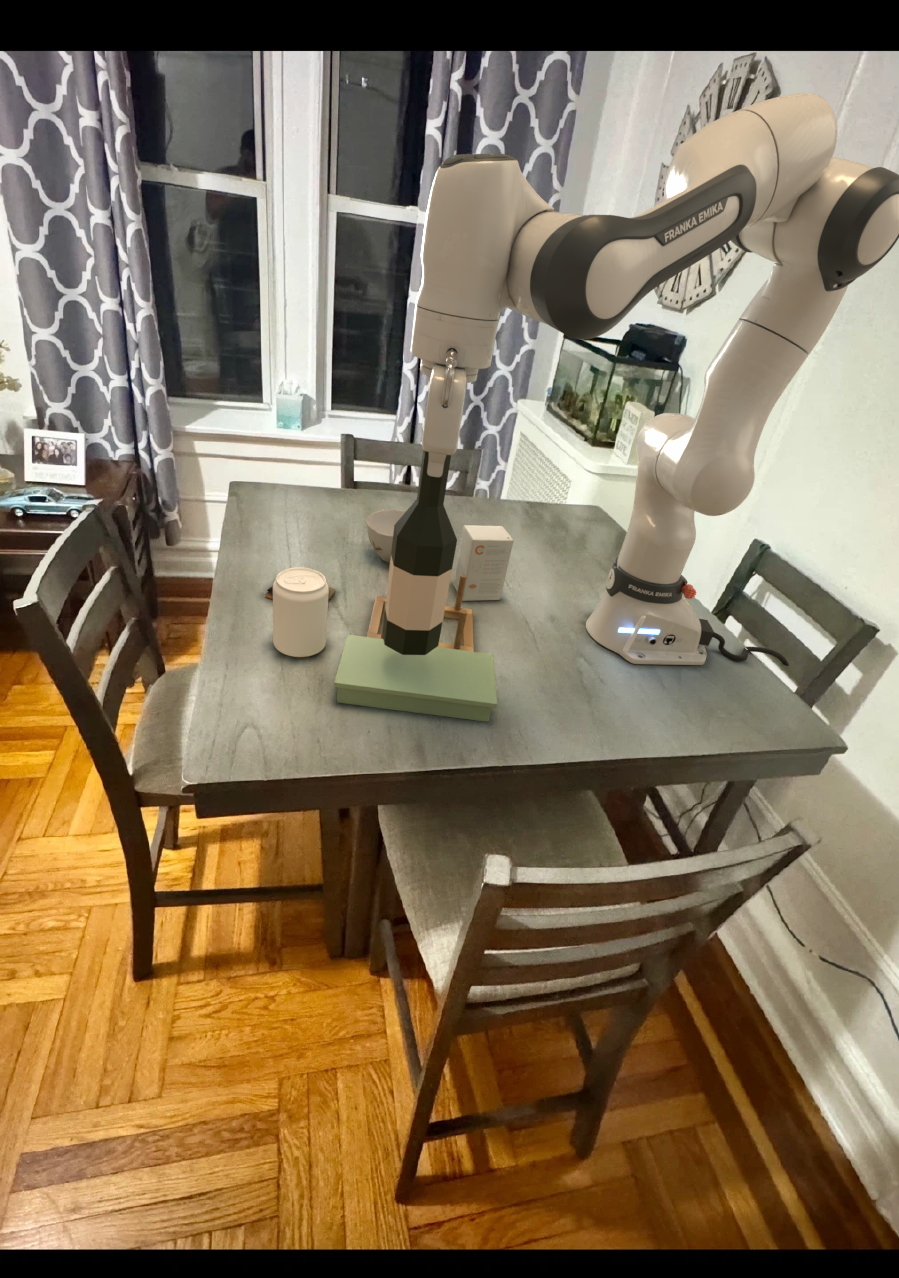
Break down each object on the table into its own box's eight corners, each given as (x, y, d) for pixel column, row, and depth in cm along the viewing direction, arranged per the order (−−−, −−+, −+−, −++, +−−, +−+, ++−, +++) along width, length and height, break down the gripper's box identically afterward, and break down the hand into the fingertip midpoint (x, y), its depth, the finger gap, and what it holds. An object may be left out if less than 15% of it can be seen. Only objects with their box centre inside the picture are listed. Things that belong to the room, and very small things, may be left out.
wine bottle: (431, 662, 82) (469, 443, 65) (373, 647, 83) (396, 427, 66) (444, 630, 89) (481, 425, 72) (390, 617, 90) (415, 411, 73)
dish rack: (470, 616, 111) (479, 575, 106) (471, 660, 99) (481, 616, 95) (375, 603, 109) (379, 561, 104) (365, 645, 98) (370, 600, 93)
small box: (489, 584, 122) (502, 525, 115) (500, 600, 117) (514, 540, 110) (452, 584, 119) (462, 524, 112) (461, 601, 115) (473, 539, 107)
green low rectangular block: (488, 674, 97) (493, 654, 95) (491, 724, 87) (497, 704, 85) (346, 655, 95) (347, 634, 93) (332, 704, 85) (334, 682, 83)
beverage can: (326, 660, 93) (330, 594, 87) (272, 660, 91) (271, 592, 85) (324, 630, 100) (328, 567, 93) (274, 629, 98) (273, 564, 91)
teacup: (367, 571, 118) (370, 534, 114) (360, 542, 128) (363, 507, 124) (440, 573, 123) (446, 537, 118) (428, 545, 132) (433, 511, 128)
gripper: (485, 365, 56) (461, 504, 64) (479, 333, 73) (460, 447, 81) (418, 353, 55) (401, 495, 63) (428, 324, 72) (414, 439, 80)
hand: (435, 468), depth 72 cm, fingers closed on wine bottle, 3 cm apart
